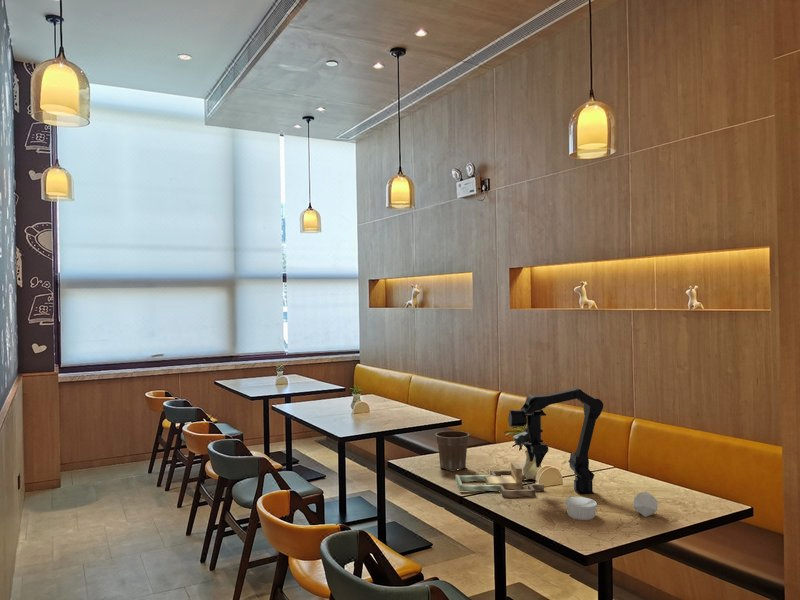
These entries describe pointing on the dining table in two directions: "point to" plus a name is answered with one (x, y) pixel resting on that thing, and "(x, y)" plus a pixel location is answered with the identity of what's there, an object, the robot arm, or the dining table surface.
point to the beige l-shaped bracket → (508, 478)
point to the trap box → (505, 493)
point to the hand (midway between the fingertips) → (534, 464)
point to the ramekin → (581, 508)
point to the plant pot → (452, 449)
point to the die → (645, 504)
